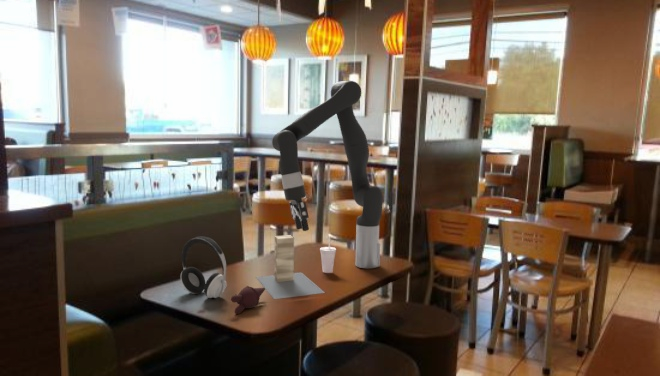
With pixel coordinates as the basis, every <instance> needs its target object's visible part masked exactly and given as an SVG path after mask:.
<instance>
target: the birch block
mask: <svg viewBox="0 0 660 376" xmlns="http://www.w3.org/2000/svg"><path fill="white" fill-rule="evenodd" d="M294 244H295V238H294V236H292V235H291V234H287V235H275V236H274V269H273V270H274V272H273V273H274V279H275V280H276V281H277V282H283V281H292V280H293V273H295V272H294V269H295V268H294V265H295V264H294V259H295V258H294V257H295V255H294V253H295V249H294V248H295V245H294Z"/></svg>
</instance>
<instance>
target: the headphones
mask: <svg viewBox="0 0 660 376" xmlns="http://www.w3.org/2000/svg"><path fill="white" fill-rule="evenodd" d="M196 244H203V245H206V246H207V247H209V248H210V249H211V250H212V251H213V252H214V253H215V254H216V256H217V258H218V260H219V261H220V265H221V268H222V274H221V273H220V272H214V273H212V274H211V275H210V276H209V277H208V279H207V280H206V279H205V276H204V274H203V273H202V271H201V270H200V269H198V268H196V267H194V266H188V267H187V266H186V264H187V263H186V260H187V255H188V252H189V250H190V249H191V247H192V246H194V245H196ZM181 262H182V267H183V270H182V271H181V273H180V284H181V287H182V288H183V289H184V290H185V291H187V292H188V293H190V294H193V295H195V294H201V293H202V292H203V293H204V295H205V296H206V297H207V298H208V299H212V298H214V299H218V298H219V297H220V296H221V295H222V294H223V293H224V291H225V290H226V288H227V286H228V283H227V281H226V277H227V262H226V257H225V254H224V252H223V250H222V248H221V247H220V246H219V245H218V243H217V242H216V241H215V240H214V239H212V238H211V237H208V236H201V235H200V236H195V237H193V238H190V239H188V241H186V243H185V244H184V246H183V247H182V252H181Z"/></svg>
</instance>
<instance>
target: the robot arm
mask: <svg viewBox="0 0 660 376" xmlns="http://www.w3.org/2000/svg"><path fill="white" fill-rule="evenodd" d="M361 97H362V88H361V86H360V84H359V83H358V82H357V81H353V80H343V81H337V82H335V83H334V84H332V86H331V89H330V98H328V99H326V100H325V101H324V102H322V103H320V104H318V105H315V106H314V107H312V108H310V109H308V110H307V111H306V112H304V113H303V114H302V115H300V116H298V118H296V119H295V120H294V121H293V122H292V123H290V124H288V125H287V126H285V127H284V128H283V129H281V130H279V132H276V134H274V136H273V137H272V140H271V145H272V146H273V148H274V149H275V150H276V151H277V152H279V156H280V159H279V161H278V166H279V170H280V176H281V183H282V188H283V193H284V198H285V201H286V202H287V201H288V202H289V203H288V205H289V207H290V208H289V210H290V213H291V214H290V215H291V217H292V219H293V220H294V223H295V228H296V230H302V231H303V232H307V231H309V230H310V228H309V222H308V219H309V213H308V208H307V205H306V204H307V203H306V201H303V200H302V199H304V198H306V197H307V193H306V188H305V183H304V179H303V175H302V173H301V167H300V164H299V159H298V157H299V153H298V141H300V140H301V139H304V138H306V137H307V136H308V135H309V134H311V133H312V132H313V131H315V130H316V129H317V128H319V127H320V126H322V124H324V123H325V122H327V121H328V120H330V119H331V118H332V117H334V116H337V120H338V124H339V125H338V126H339V128H340V133H341V138H342V141H343V147H344V153H345V155H346V158H347V162H348V163H347V164H348V169H349V174H350V178H351V179H350V180H351V187H352V188H351V189H352V196H353V200H354V202H355V203H356V204H357V205H358V206H360V207H362V212H361V215H359V216H357V217H356V227H355V228H356V229H355V230H356V232H355V234H356V235H355V259H354V261H355V262H354V263H355V266H356V267H357V268H361V269H375V268H379V267H380V260H381V257H380V256H381V244H380V241H379V239H380V221H381V218H382V214H383V205H384V203H383V202H384V197H383V196H384V195H383V192H382V190H381V189H380V187H378V186H375V185H371V184H370V182H369V178H368V173H367V168H368V163H369V157H370V149H369V145H368V144H369V143H368V140H367V139H368V138H367V136H366V133H365V131H364V129H363V128H362V126H361V125H360V123H359V121H358V120H357V118H356V116H355V111H354V108H353V105H355V104H358V102H359V101H360V100H361Z"/></svg>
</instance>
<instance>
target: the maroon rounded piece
mask: <svg viewBox="0 0 660 376" xmlns="http://www.w3.org/2000/svg"><path fill="white" fill-rule="evenodd" d="M265 290H266V289H265V288H264V287H257V288H254V287H252V286H249V285H246V286H244V287H243V288H242V289H241V290H240V291H239V293H238V294H234V295H232V296H231V299H230V301H231V302H232V303H236V304H237V306H236V307H235V308H234V314H235V315H239V314H241V313H242V311H244V309H252V308H254V307H257V306H259V304H260V303H259V302H260V299H261V298H260V297H261V296H262V295H263V293H264V292H265Z"/></svg>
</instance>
